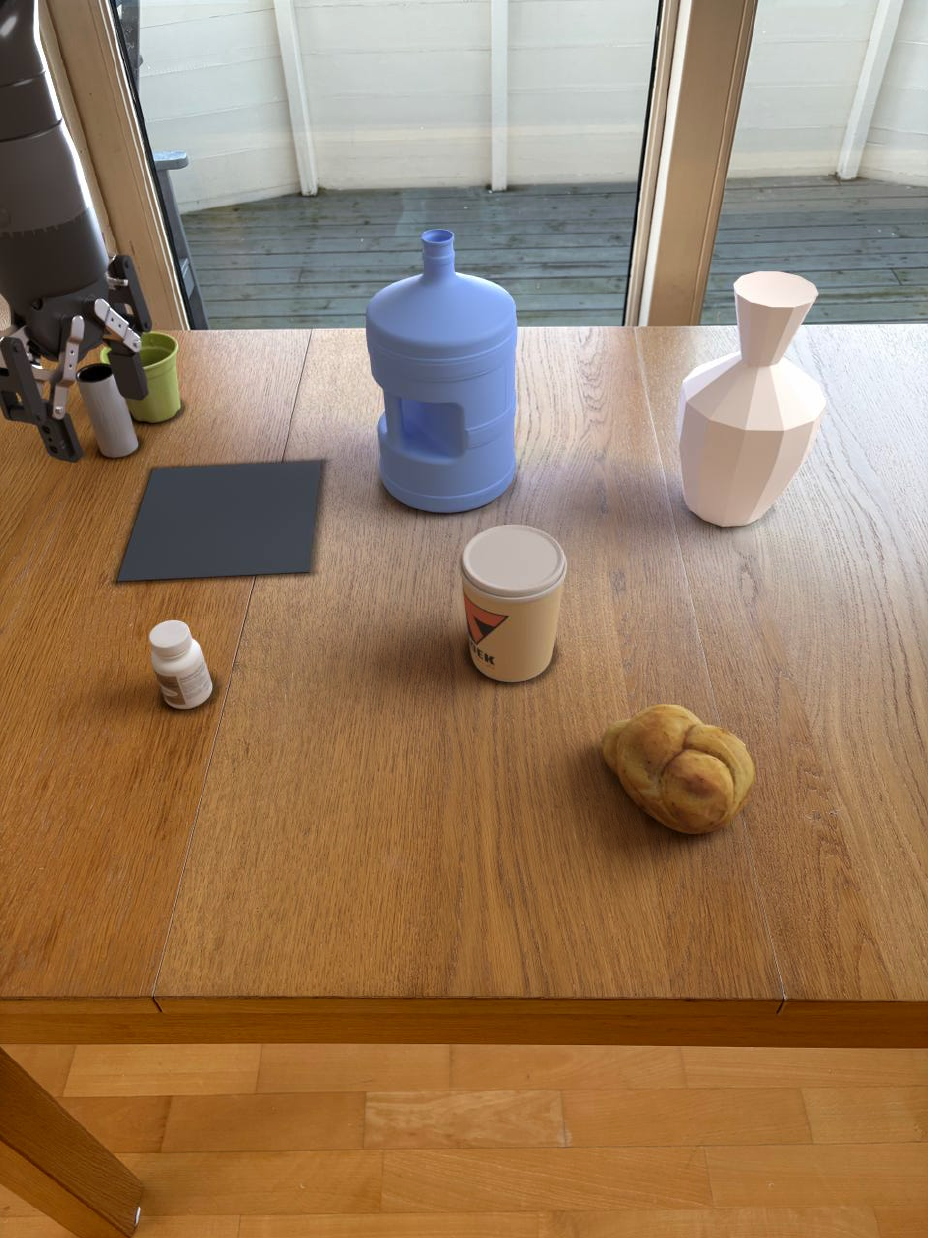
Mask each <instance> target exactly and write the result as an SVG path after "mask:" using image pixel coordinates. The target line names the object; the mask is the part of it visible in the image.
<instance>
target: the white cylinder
mask: <svg viewBox="0 0 928 1238" xmlns="http://www.w3.org/2000/svg"><path fill="white" fill-rule="evenodd" d="M75 382H76V384H77V387H78V390H79V393H80V395H81V399H82V403H83V404H84V408H85V410H86V413H87V416H88V420H89V421H90V425H91V428H92V431H93V434H94V436H95V439H96V442H97V446H98V447H99V450H100V453H101V454H102V455H103V456H105V457H107V458H114V459H115V458H122V457H126V456H128V455H131V454H132V453H134V452H135V451H136V450H137V449H138V447H139V441H138V437H137V434H136V431H135V427H134V425H133V421H132V418H131V414H130V410H129V407H128V405H127V403H126V401H125V398H124V397H122V396H121V395H120V393H119V391H118V388H117V385H116V382H115V379H114V375H113V372H112V369H111V366H110V364H107V363H101V362H95V363H91V364H87V365H84V366H82V367H80V368H79V369H78V370H76V379H75Z"/></svg>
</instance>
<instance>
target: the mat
mask: <svg viewBox="0 0 928 1238" xmlns="http://www.w3.org/2000/svg"><path fill="white" fill-rule="evenodd" d="M321 469H322V460H313V461H293V462H271V463H270V462H269V463H249V464H229V465H227V464H226V465H209V466H207V465H206V466H187V467H186V466H185V467H166V468H152V470H151V474H150V477H149V480H148V483H147V486H146V489H145V493H144V495H143V499H142V501H141V505H140V507H139V510H138V514H137V517H136V519H135V524H134V526H133V530H132V533H131V536H130V539H129V542H128V545H127V548H126V551H125V554H124V557H123V561H122V564H121V566H120V569H119V572H118V573H119V574H118V576H117V579H116V582H117V583H121V582H122V583H123V582H142V581H144V582H145V581H161V580H163V581H164V580H183V579H201V578H202V579H203V578H222V577H223V578H224V577H245V576H259V575H260V576H263V575H266V576H267V575H281V574H282V575H284V574H285V575H287V574H303V573H304V574H305V573H310V572H311V565H312V555H313V554H312V553H313V545H314V536H315V524H316V516H317V509H318V508H317V506H318V497H319V489H320V479H321Z"/></svg>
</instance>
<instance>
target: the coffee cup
mask: <svg viewBox="0 0 928 1238" xmlns="http://www.w3.org/2000/svg"><path fill="white" fill-rule="evenodd" d="M458 570H459V575H460V578H461V587H462V594H463V604H464V610H465V611H464V613H465V619H466V627H467V635H468V642H469V649H470V656H471V659H472V661H473V663H474V666H475V667H476V668H477V669H478V671H480V672H481V673H482V674H483V675H485V676H486V677H488V678H491V679H492V680H496V681H499V682H505V683H519V682H520V683H521V682H525V681H528V680H531V679H533V678H536V677H537V676H539V675H540V674H541V673H543V672H544V671H545V670H546V669H547V668H548V666H549V664H550V663H551V660H552V657H553V652H554V647H555V643H556V642H555V641H556V635H557V630H558V629H557V628H558V621H559V616H560V611H561V610H560V609H561V602H562V596H563V589H564V581H565V578H566V575H567V570H568V562H567V557H566V554H565V552H564V550H563V548H562V547H561V545H560V543H558V541H557V540H556V539H555V538H554V537H553V536H552V535H550V534H548V533H547V532H545V531H543V530H541V529H538V528H536V527H533V526H527V525H522V524H502V525H497V526H493V527H490V528H487V529H485V530H482V531H480V532H478V533H477V534H475V535H474V536H473V537H472V538H470V540H469V541H468V542H467V543H466V544H465V546H464V548H463V549H462V550H461V553H460V555H459V560H458Z"/></svg>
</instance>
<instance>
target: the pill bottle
mask: <svg viewBox="0 0 928 1238" xmlns="http://www.w3.org/2000/svg"><path fill="white" fill-rule="evenodd" d="M148 641H149V645H150V647H151V649H152V651H151V654H150V663H151V667H152V669H153V672H154V674H155V677H156V679H157V682H158V684H159V688H160V690H161V693H162V695H163V698H164V701H165V702H166V703H167V704H168V705H169V706H171V707H172V708H174V709H179V710H190V709H193V708H196V707H199V706H200V705H203V703H204V702H206V701H207V700H208V699H209V698H210V696H211V694H212V691H213V682H212V679H211V676H210V675H211V674H210V672H209V669H208V666H207V663H206V659H205V656H204V653H203V650H202V647H201V646H200V643H199V642H198V641H197V640H195V639H194V638H193V635H192V634H191V631H190V628H189V626H188V624H186V622H183V621H181V620H177V619H171V620H169V619H168V620H165V621H162V622H159V623H158V624H157V625H155V626H154V627H153V628H152V629H151V630H150V632H149V633H148Z"/></svg>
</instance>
